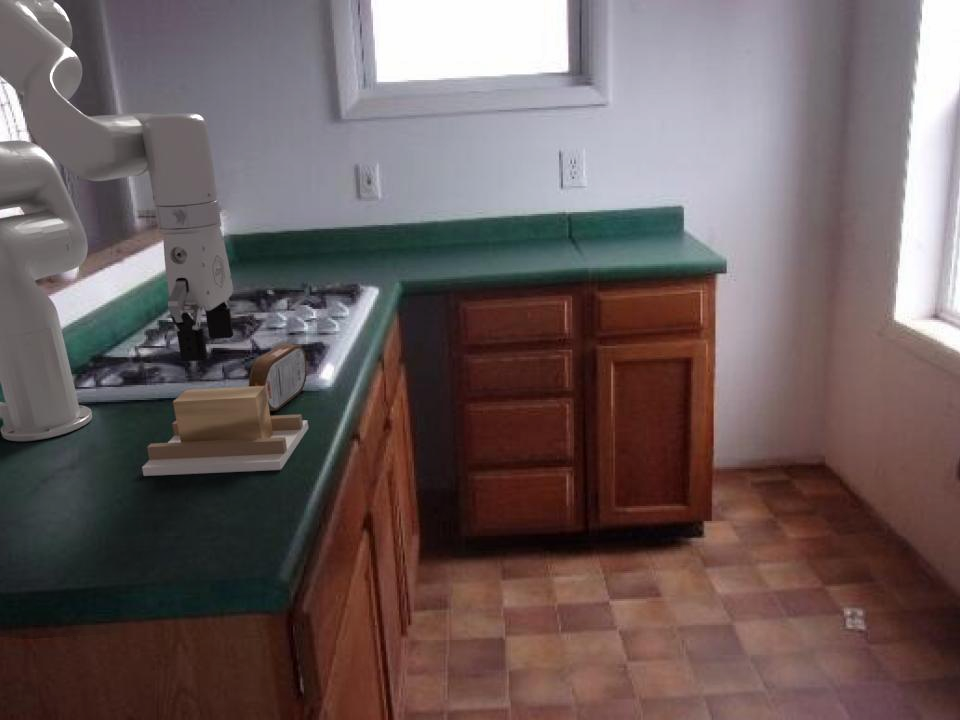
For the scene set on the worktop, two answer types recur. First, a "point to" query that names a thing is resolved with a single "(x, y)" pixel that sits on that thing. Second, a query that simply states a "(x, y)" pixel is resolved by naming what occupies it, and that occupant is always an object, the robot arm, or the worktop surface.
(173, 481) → the worktop surface
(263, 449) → the cradle
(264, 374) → the tin
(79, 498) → the worktop surface
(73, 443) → the worktop surface
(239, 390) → the oak block
